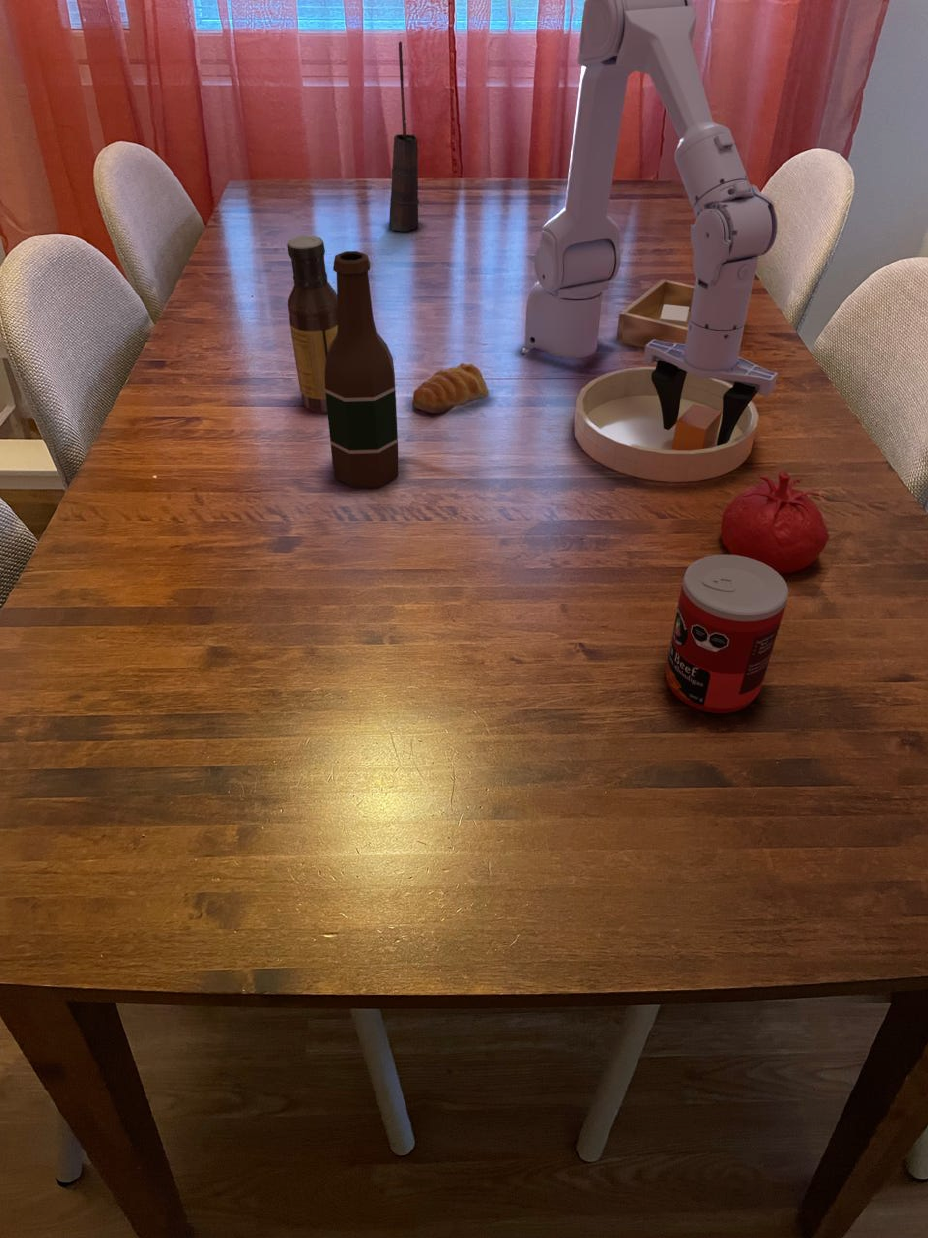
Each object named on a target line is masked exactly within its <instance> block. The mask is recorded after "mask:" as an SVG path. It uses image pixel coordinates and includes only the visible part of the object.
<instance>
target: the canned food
mask: <svg viewBox="0 0 928 1238" xmlns="http://www.w3.org/2000/svg"><path fill="white" fill-rule="evenodd" d="M788 595H789V590H788V585H787V583H786V580H785V579H784V578H783V576H782V575H781V574H779V573H778V572H776V571H775V570H774V569H772V568H771V567H769V566H767V565H766V564H764V563H762V562H759V561H757V560H754V559H751V558H747V557H743V556H737V555H731V554H714V555H708V556H705V557H701V558H699V559H697V560H695V561H694V562H693V563H691V564H690V565H689V566H688V567H687V569H686V571H685V573H684V576H683V579H682V584H681V588H680V593H679V598H678V603H677V607H676V608H677V609H676V613H675V619H674V624H673V629H672V634H671V639H670V645H669V650H668V655H667V660H666V664H665V677H666V681H667V685H668V686H669V689H670V690H671V692H672V693H673V695H675V697H677V698H678V700H679V701H681V702H682V703H684V704H686V705H687V706H690V707H692V708H694V709H696V710H699V711H702V712H707V713H711V714H730V713H734V712H739V711H741V710H743V709H745V708H747V707H748V706H750V705H751V704H752V702H754V700H755V699H756V698H757V696H758V695H759V693H760V692H761V689H762V686H763V683H764V680H765V676H766V673H767V670H768V667H769V664H770V659H771V656H772V653H773V650H774V648H775V647H774V646H775V643H776V639H777V636H778V633H779V630H780V626H781V625H782V620H783V616H784V614H785V609H786V605H787V601H788Z"/></svg>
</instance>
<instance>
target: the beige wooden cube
mask: <svg viewBox="0 0 928 1238" xmlns="http://www.w3.org/2000/svg"><path fill="white" fill-rule="evenodd" d="M689 308H690V307H685V306H676V305H666V304H664V307H663V311H662V315H661V318H660V321H663V322H667V323H671V324H675V325H679V326H684V327H687V320H688V314H689Z"/></svg>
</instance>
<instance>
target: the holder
mask: <svg viewBox="0 0 928 1238" xmlns="http://www.w3.org/2000/svg"><path fill="white" fill-rule="evenodd" d="M694 288H695V285H692V284H687V283H683V282H678V281H673V280H670V279H669V280H668V279H665V278H662V279H661V280H659V281H657V283H656V284H654V286H652V287H651V288H649V289H648V290H647V291H646V292H644V293H643V294H642V295H640V296H639V297H638V298H637V299H636V300H634V301H633V302H632V303H630V304H629V305H628V306H627V307H625V308H624V309H623V310H622V311H620V312H619V314H618V321H617V322H618V323H617V330H616V331H617V332H616V339H615V341H616V342H619V343H623V344H626V345H631V346H634V347H638V348H641V349H645V345H647V344H648V343H649V342H650V341H652V340H653V339H654V340H658V341H663V342H670V343H679V344H685V343H686V337H687V331H688V325H689V319H690V313H691V307H692V301H693V294H694ZM664 304H666V305H676V306H685V307H690V308H689V314H688V320H687V327H684V326H679V325H675V324H671V323H667V322H663V321H660V318H661V315H662V311H663V307H664Z"/></svg>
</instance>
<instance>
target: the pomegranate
mask: <svg viewBox="0 0 928 1238" xmlns="http://www.w3.org/2000/svg"><path fill="white" fill-rule="evenodd" d="M758 478H759V479H760V480H762V481H764V482H760V483H758V484H756V485H752V486H751V487H749V488H746V489H745V490H743V491H742V492H741V493H740V494H738V495H737V496H735V497H734V498H733V499H732V500H731V501H730V502H729V504H727V506H726V507H725V509H724V512H723V514H722V520H721V526H720V527H721V528H720V529H721V530H720V531H721V533H720V535H721V537H720V539H721V542H722V544H723V546H724V547H725V549H726V550H727V551H728V552H729V555H737V556H743V557H747V558H751V559H754V560H757V561H759V562H762V563H764V564H766V565H767V566H769V567H771V568H772V569H774V570H775V571H776V572H778V573H779V575H786V574H793V573H795V572H798V571H801V570H804V569H805V568H808V566H810V565H812V563H813V562H814V561H816V559H817V558H818V557H819V556H820V555H821V553H822V552H823V551H824V549H825V547H826V546H827V544H828V543H827V542H828V540H829V539H830V534H829V532H828V531H829V530H828V529H827V526H826V524H825V522H824V520H823V514H822V512H821V511H820V510H819V508H818V507H817V505H816V503H815V501H813V500H812V499H811V498H810V497H809V496H808V495H812V496H817V497H821V498H825V495H821V494H818V493H815V492H812V491H803V490H801V489H794V488H793V487H794V485H795V484H797V483H799V484H800V483H802V479H801V478H800V479H798V478H794V479H792V480H791V482H790V479H791V477H790V475H789V474H788V473H787V472H786V471H781V472H780V473H779V475H778V480H779V481H778V482H774V481H773V480H772V479H771V478H769V477H768V476H763V475H761V474H760V473H759V474H758ZM789 482H790V483H789Z"/></svg>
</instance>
